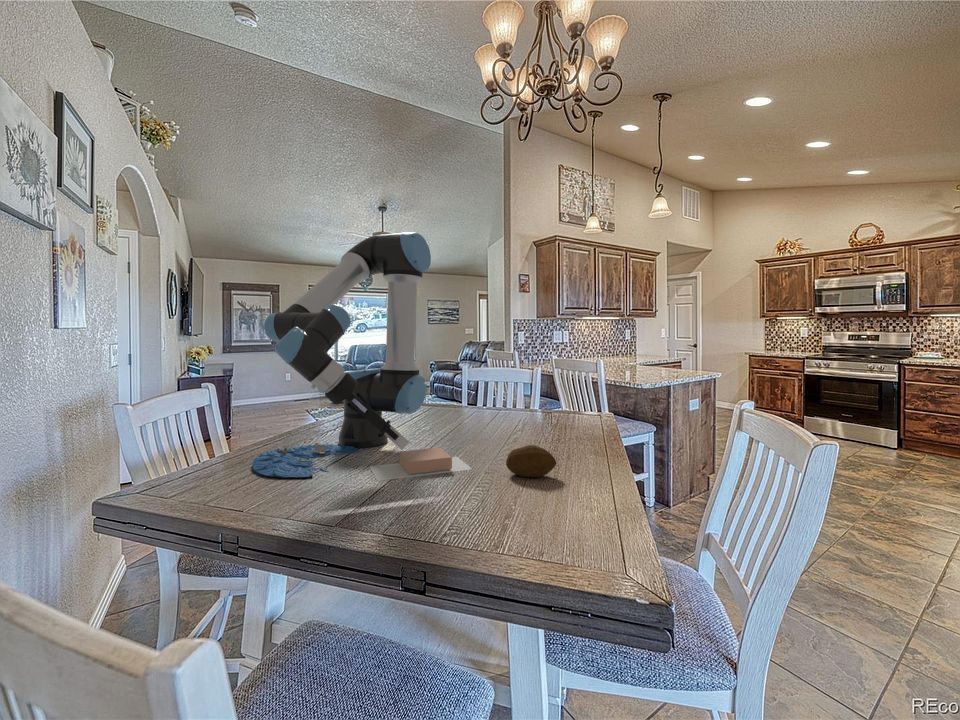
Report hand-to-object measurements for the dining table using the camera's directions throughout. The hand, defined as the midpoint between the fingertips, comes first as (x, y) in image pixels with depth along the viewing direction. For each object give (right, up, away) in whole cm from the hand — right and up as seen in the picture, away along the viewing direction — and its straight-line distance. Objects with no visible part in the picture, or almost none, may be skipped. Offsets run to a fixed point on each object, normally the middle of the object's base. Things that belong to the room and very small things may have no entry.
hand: (404, 445), depth 119 cm
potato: (+32, -8, -1) cm, 32 cm away
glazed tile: (0, -4, 0) cm, 4 cm away
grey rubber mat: (+4, -7, +2) cm, 8 cm away
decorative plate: (-27, -7, +10) cm, 29 cm away
